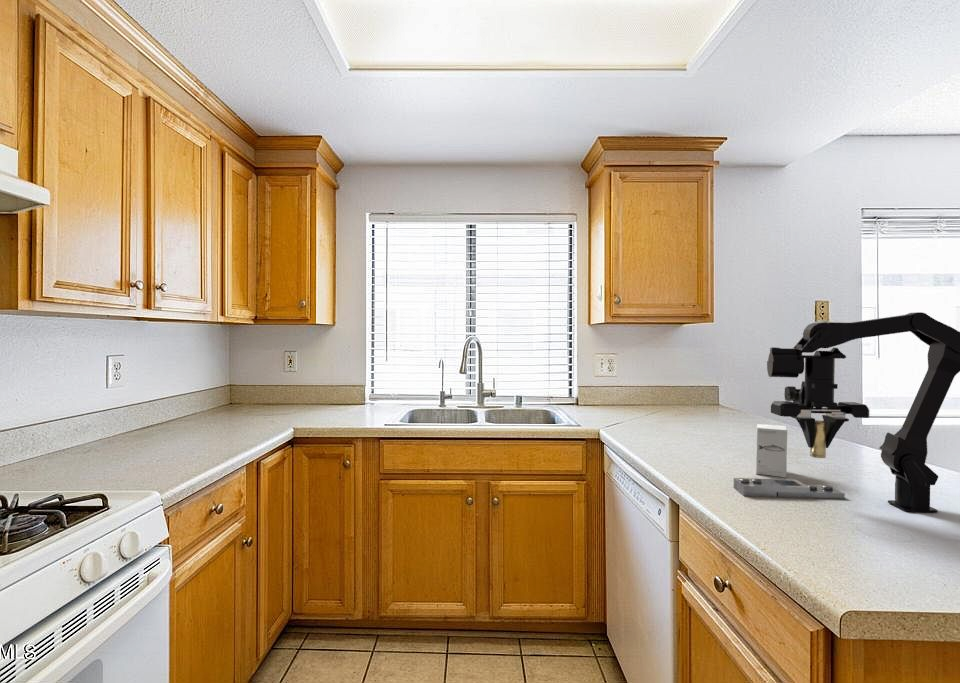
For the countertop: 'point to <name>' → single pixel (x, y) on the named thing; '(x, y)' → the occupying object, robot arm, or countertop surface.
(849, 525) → the countertop surface
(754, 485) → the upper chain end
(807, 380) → the robot arm
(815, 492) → the lower chain end
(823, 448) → the brass pin
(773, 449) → the supplement box
